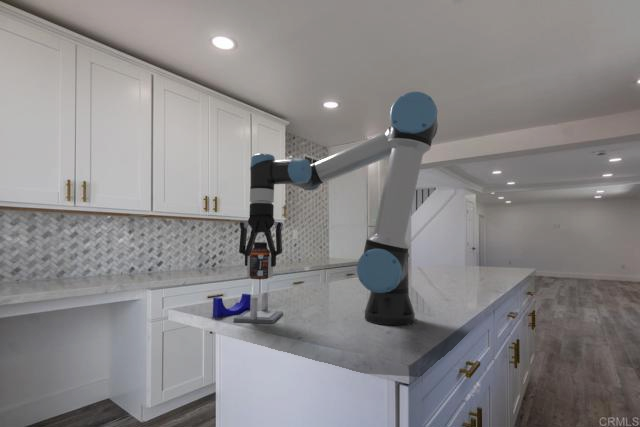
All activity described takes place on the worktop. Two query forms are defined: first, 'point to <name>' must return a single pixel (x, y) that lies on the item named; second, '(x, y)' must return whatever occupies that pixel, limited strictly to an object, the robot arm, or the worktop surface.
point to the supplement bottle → (259, 261)
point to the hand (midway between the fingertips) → (260, 276)
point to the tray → (259, 312)
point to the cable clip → (238, 308)
